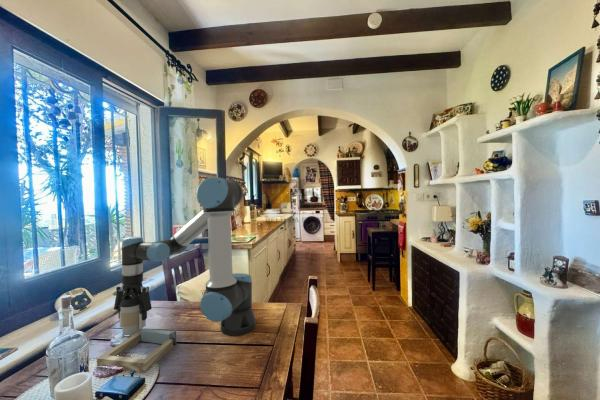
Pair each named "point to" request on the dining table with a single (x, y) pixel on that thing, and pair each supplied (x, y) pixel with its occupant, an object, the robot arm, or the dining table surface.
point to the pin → (174, 337)
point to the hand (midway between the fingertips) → (132, 326)
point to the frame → (133, 363)
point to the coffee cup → (130, 316)
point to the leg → (155, 336)
